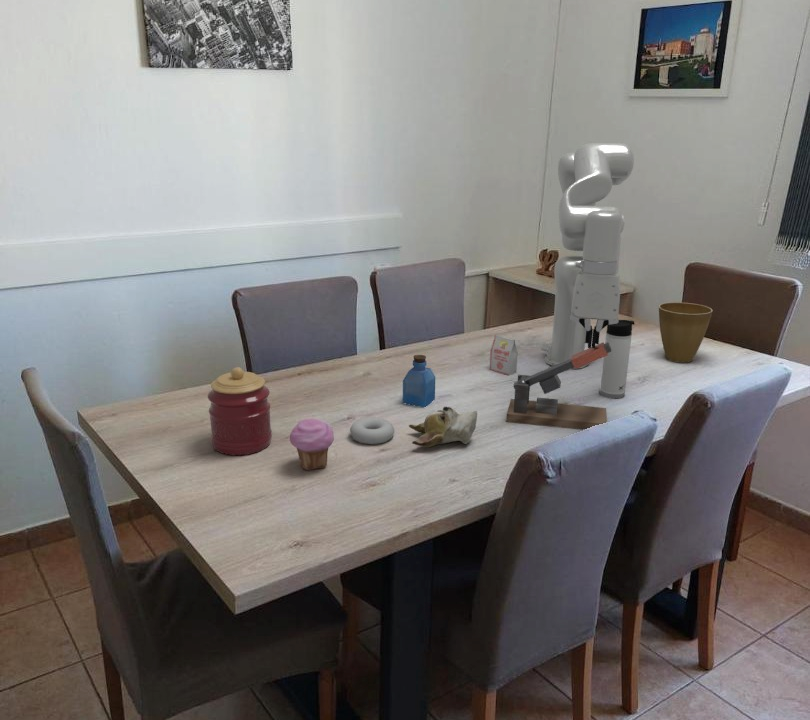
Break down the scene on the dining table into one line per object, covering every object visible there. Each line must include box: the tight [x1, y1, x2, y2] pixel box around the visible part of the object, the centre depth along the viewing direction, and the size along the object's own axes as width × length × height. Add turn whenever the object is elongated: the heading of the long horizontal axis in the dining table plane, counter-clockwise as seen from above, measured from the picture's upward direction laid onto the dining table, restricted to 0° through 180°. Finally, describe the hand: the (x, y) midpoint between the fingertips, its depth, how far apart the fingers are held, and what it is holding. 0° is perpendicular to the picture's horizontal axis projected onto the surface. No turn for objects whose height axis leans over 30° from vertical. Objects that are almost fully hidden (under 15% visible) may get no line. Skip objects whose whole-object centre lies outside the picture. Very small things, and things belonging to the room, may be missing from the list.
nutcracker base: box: [505, 374, 608, 430], centre depth 170 cm, size 23×10×9 cm, turn 76°
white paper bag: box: [489, 334, 519, 376], centre depth 202 cm, size 4×7×10 cm, turn 45°
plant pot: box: [658, 301, 713, 364], centre depth 213 cm, size 15×15×16 cm
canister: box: [207, 366, 273, 456], centre depth 154 cm, size 13×13×18 cm
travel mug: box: [599, 319, 635, 399], centre depth 184 cm, size 6×7×20 cm
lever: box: [513, 341, 611, 395], centre depth 167 cm, size 24×4×5 cm
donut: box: [349, 416, 395, 445], centre depth 160 cm, size 10×3×10 cm
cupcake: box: [289, 418, 335, 471], centre depth 146 cm, size 9×9×10 cm
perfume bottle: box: [402, 354, 436, 408], centre depth 179 cm, size 6×6×12 cm
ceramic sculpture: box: [408, 406, 478, 448], centre depth 157 cm, size 11×9×15 cm
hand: (591, 346), depth 164 cm, fingers closed
